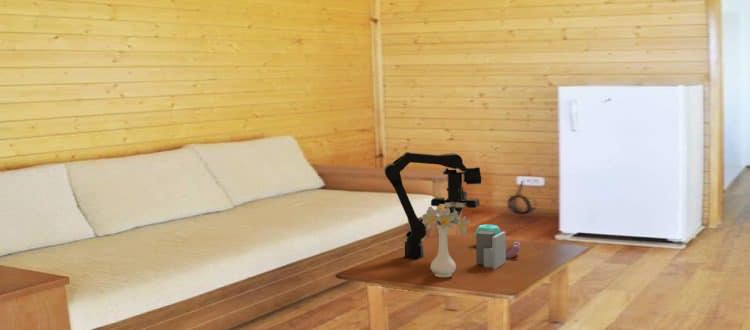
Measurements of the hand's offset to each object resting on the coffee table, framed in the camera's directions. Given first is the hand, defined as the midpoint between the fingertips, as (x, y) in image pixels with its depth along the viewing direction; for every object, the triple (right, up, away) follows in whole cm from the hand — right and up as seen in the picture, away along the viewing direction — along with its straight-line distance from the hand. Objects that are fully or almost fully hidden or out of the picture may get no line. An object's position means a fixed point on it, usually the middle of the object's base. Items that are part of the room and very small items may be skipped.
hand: (455, 223), depth 343 cm
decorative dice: (+16, -11, +22) cm, 29 cm away
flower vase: (-6, -17, -30) cm, 35 cm away
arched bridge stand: (+13, -15, -15) cm, 25 cm away
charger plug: (+10, -15, -14) cm, 22 cm away
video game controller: (+23, -13, 0) cm, 26 cm away
